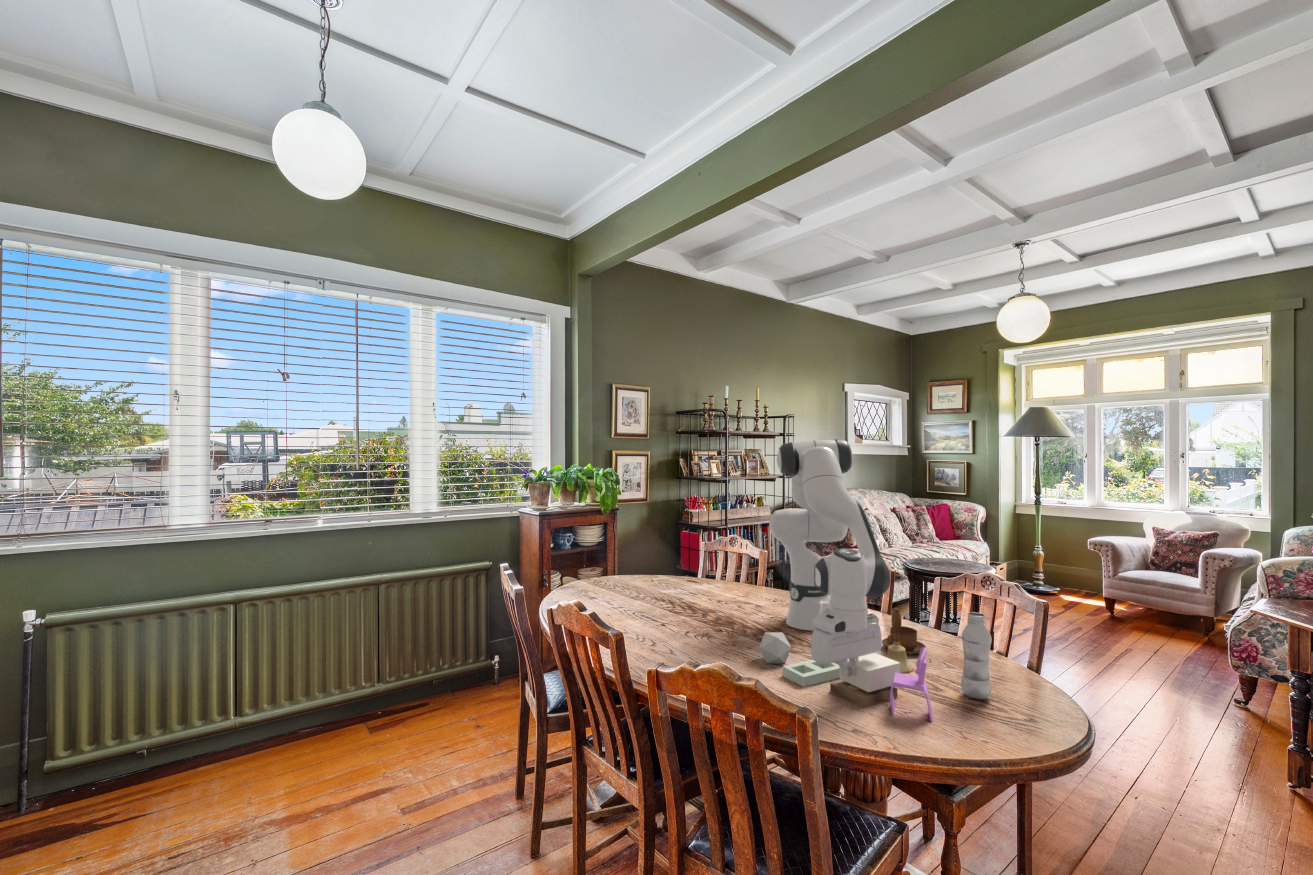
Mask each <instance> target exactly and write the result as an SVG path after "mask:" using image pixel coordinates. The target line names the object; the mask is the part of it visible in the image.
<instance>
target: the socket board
mask: <svg viewBox="0 0 1313 875" xmlns="http://www.w3.org/2000/svg"><path fill="white" fill-rule="evenodd" d="M782 677H784V678H786V679H788V680H790V681H792V682H793V683H796V684H797V685H800V686H801V687H803V688H806V687H809V686H814V685H818V684H820V683H826V682H829V681H832V680H836V679H840V667H839V665H838V664H836V663H830V664H826V665H822V664H820V663H818V662H816V661H814V659H813V658H812V659H809V660H804V661H800V662H795V663H791V664H787V665H782Z"/></svg>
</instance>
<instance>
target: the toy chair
mask: <svg viewBox="0 0 1313 875" xmlns="http://www.w3.org/2000/svg"><path fill="white" fill-rule="evenodd" d="M927 651H928V648H927V647H926V648H925V647H922V648H921V650H920V653H919V654H918V658H917V661H916V663H915V664H916V665H915V666H916V670H915V674H917V675H911V674H906V673H896V672H895V676H894V678H893V680H892V685H891V690H890V699H889V701H890V702H889V703H890V711H891V714H892V715H893V716H894V714H895V711H896V710H895V709H896V701H895V698H894V697H893V688H901V689H909V690H910V689H911V690H915V691H919V692H922V693H923V694H924V695H925V699H926V704H927V709H928V714H929V719H930V722H931V723H933V716H934V714H933V712H934V711H933V708H932V703H931V700H930V694H929V688H928V687H929V686H928V683H927V682H926V679H925V678H926V669H927V659H925V658H926V655H927Z"/></svg>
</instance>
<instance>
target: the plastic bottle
mask: <svg viewBox="0 0 1313 875" xmlns="http://www.w3.org/2000/svg"><path fill="white" fill-rule="evenodd" d="M967 622H968V623H967V625H966V626H965V627H964V628H963V629H962V632H961V640H962V641H961V642H962V648H963V667H962V668H963V669H962V676H961V680H960V687H961V691H962V693H963V694H964V695H965V696H966V697H968V698H971V699H975V700H987V699H989V698H990V696H991V694H992V689H993V688H992V683H991V678H990V666H989V664H990V661H989V660H990V652H991V648H992V647H991V645H992V641H993V640H992V639H993V638H992V636H991V633H990V631H989V630H988V628H987V627H986V626H985V624H986V615H985V614H984V613H980V612H975V611H971V612H968V613H967Z"/></svg>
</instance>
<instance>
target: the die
mask: <svg viewBox="0 0 1313 875" xmlns="http://www.w3.org/2000/svg"><path fill="white" fill-rule="evenodd" d="M758 649H759V651H760V653H761V655H762V657H763V659H764V661H765V663H766V664H786V662H787V659H788V657H789V654H790V652H791V650H792V646H791V645H790V643H789V640H788V639H787V637H786V636H785V633H784V632H782V631H781V632H780V631H779V632H774V631H773V632H771V631H769V632H767V631H766V632H764V633H763V636H762V639H761V641H760V644H759V646H758Z"/></svg>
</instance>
